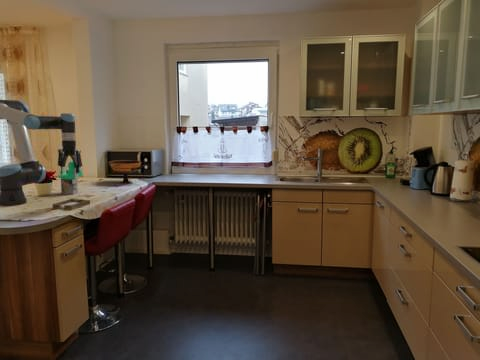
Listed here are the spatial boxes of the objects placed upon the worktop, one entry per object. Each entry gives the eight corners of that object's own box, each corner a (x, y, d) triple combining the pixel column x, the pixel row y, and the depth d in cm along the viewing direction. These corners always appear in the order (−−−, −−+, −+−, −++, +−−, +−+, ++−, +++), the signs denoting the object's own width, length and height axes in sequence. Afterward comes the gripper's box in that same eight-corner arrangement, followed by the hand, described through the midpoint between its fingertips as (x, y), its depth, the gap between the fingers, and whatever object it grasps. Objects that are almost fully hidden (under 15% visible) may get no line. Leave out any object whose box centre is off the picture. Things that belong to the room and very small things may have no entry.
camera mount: (71, 176, 229) (71, 160, 228) (82, 177, 228) (81, 161, 226) (57, 179, 218) (56, 162, 216) (68, 180, 216) (68, 163, 214)
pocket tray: (52, 208, 219) (52, 204, 219) (72, 202, 235) (71, 198, 235) (71, 210, 216) (71, 206, 216) (90, 203, 232) (89, 200, 232)
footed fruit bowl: (97, 182, 307) (97, 161, 304) (118, 178, 330) (118, 159, 327) (133, 187, 293) (133, 164, 290) (152, 182, 316) (152, 161, 314)
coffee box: (78, 192, 265) (77, 170, 262) (73, 194, 259) (72, 171, 256) (66, 192, 266) (65, 169, 264) (61, 193, 260) (59, 171, 257)
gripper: (49, 139, 218) (51, 177, 222) (79, 140, 213) (81, 180, 217) (58, 139, 225) (60, 176, 229) (88, 140, 220) (89, 178, 224)
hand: (70, 178), depth 223 cm, fingers closed on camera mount, 8 cm apart
